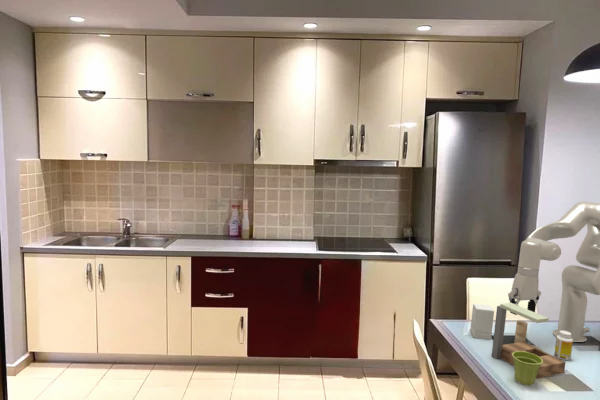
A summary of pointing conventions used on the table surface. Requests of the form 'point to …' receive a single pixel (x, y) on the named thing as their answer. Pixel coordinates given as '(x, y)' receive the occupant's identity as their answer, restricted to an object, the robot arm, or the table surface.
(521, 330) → the peg
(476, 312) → the supplement box
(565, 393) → the table surface
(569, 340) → the supplement bottle
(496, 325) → the awning
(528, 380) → the plant pot
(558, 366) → the socket block
